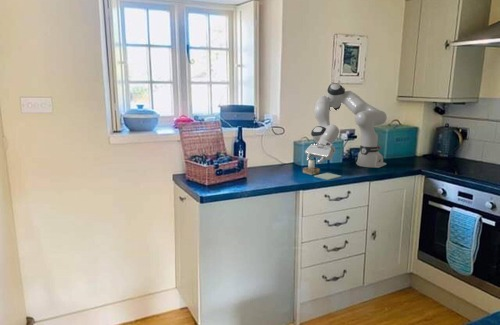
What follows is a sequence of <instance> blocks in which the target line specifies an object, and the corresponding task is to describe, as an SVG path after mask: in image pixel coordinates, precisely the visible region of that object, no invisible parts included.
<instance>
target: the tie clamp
mask: <svg viewBox="0 0 500 325" xmlns="http://www.w3.org/2000/svg"><path fill="white" fill-rule="evenodd" d="M320 172H321V169H320V168H318V167H315V169H313V170H311V169H308V166H307V167H302V173H303V174H307V175H311V176H312V175H313V176H314V175H319V174H321V173H320Z"/></svg>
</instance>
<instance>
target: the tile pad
mask: <svg viewBox="0 0 500 325" xmlns="http://www.w3.org/2000/svg"><path fill="white" fill-rule="evenodd" d="M313 177H314V178H317V179H318V178H319V179H322V180H326V181H330V180H333V179H335V180H336V179H338V178H341V177H342V175H340V174H339V175H338V174H335V173H331V172H325V173H318V174H314V175H313Z"/></svg>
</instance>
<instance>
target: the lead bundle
mask: <svg viewBox="0 0 500 325" xmlns="http://www.w3.org/2000/svg"><path fill="white" fill-rule="evenodd" d="M307 162H308V166H307V167H308V169H311V170H313V169H315V168H316V167H315V166H316V165H315V164H316V163H315V162H316V160H315V159H314V158H310V160H309V161H307Z"/></svg>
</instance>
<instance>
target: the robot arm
mask: <svg viewBox="0 0 500 325" xmlns="http://www.w3.org/2000/svg"><path fill="white" fill-rule="evenodd" d="M327 92H328V97H327V95H324V96H322V97H320V98H319V99H318V100H317V99H316V100H317V102H316V101H315V102H316V104H315V103H314V106H315V107H314V106H313V107H314V108H313V113H314V118H316V120H317V122H318V124H319V125H318V126H315V127H314V128H313V129H312V130H311V132H310V135H311V137H312V138H313V140H314V142H315V143H311V144H310V145H309V146H308V147H307V148H306V149H305V150H304V154H305V155H306V161H307V162H309V160H310V159H311V157H312V158H318V160H317V161H316V162H317V164H322V162H325V160H326V161H330V160H331V159H332V158H333V157H334V155H335V152H336V151H337V150H336V147H335V146H334V144H333V143H334V142H335V141H336V139H337V138H338V137H339V133H340V129H339V128H338V126H336V125H335V124H330V111H331V110H330V107H333V108H334V109H335V110H336V111H338V110H339V109H340V108H341V107H342V105H344V106H345V107H347V109H348V110H349V111H351V113H353V114H354V115H355V117H354V120H355V125H357V126H358V127H359V130H360V133H361V134H360V135H361V138H360V146H359V152H358V154H357V161H356V162H355V164H356V165H357V166H359V167H364V168H376V169H377V168H381V167H384V166H386V165H387V163H386V162H384V156H383V155H382V154H381V153H380V152H379V150H380V149H381V145H378V144H379V143H378V140H379V134H378V133H377V132H376V131H375V126H376V127H378V126H382V125H384V124H385V123H386V121H387V119H388V118H387V114H386V112H385V111H383V110H380V109H378V108H377V107H374V106H372V105H371V104H369V103H367V102H366V101H365V100H364V99H362V98H361V97H360V96H359V95H358V94H357V93H355V92H353V91H352V90H346V88H345V87H344V86H342V85H341V84H339V83H336V82H334V83H330V84H329V85H328V87H327ZM337 109H338V110H337Z"/></svg>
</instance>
